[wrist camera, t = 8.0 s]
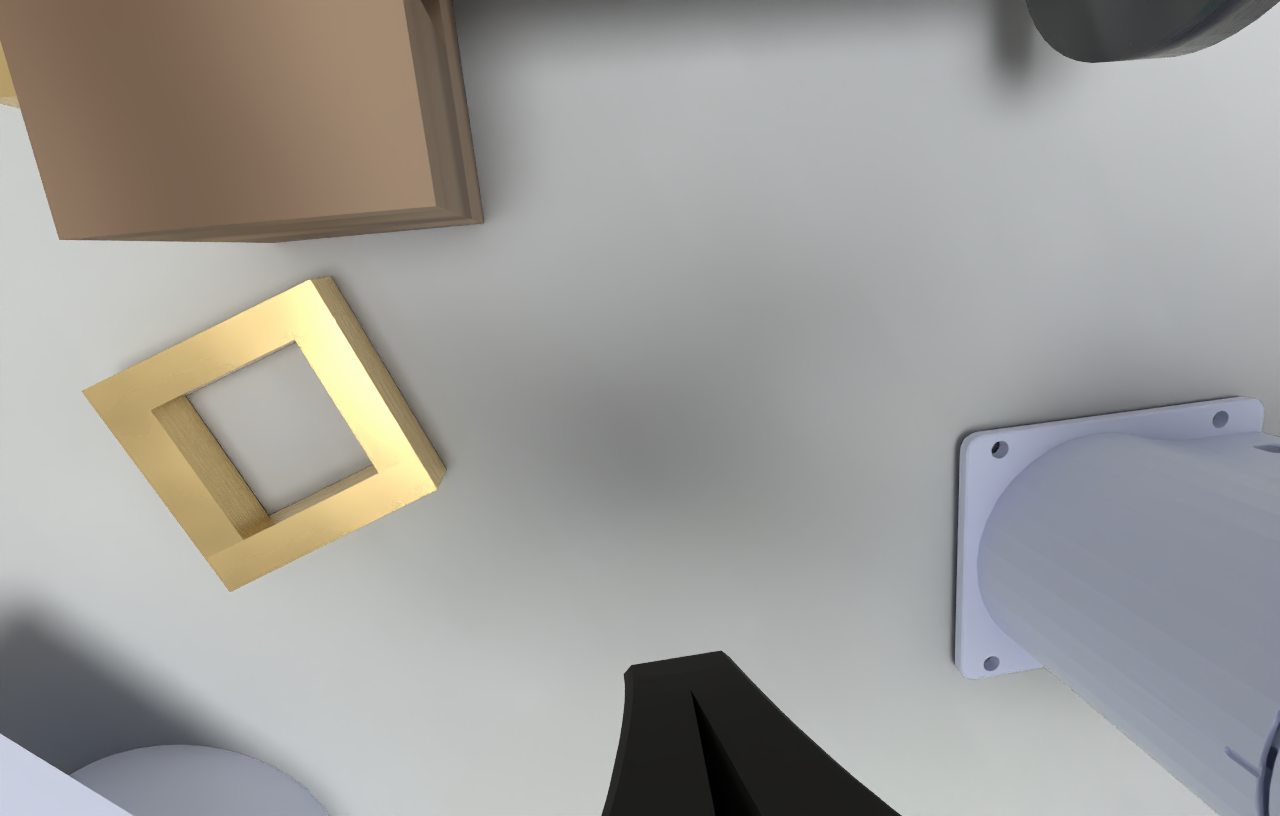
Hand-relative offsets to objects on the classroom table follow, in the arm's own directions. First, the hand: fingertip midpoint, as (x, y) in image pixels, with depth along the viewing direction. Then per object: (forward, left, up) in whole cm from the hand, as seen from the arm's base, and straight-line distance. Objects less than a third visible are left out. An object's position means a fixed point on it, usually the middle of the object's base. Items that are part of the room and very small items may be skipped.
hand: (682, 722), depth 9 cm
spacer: (+8, -3, -10) cm, 13 cm away
